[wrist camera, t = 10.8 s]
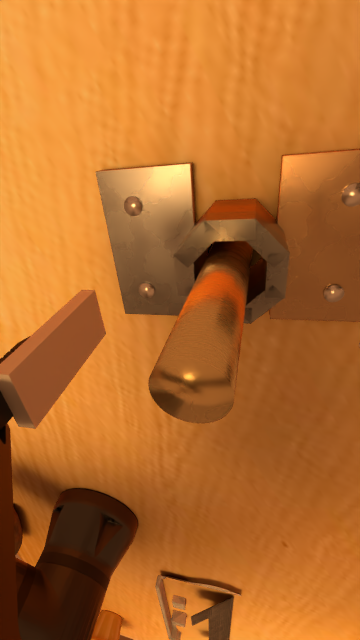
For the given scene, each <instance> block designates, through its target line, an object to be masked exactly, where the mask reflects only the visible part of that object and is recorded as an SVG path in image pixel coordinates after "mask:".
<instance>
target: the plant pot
mask: <svg viewBox="0 0 360 640" xmlns="http://www.w3.org/2000/svg"><path fill="white" fill-rule="evenodd" d="M121 622H122V618H121V617H120V616H119V615H117V614H115V613H113V612H110V611H106V610H103V611H102V612H101V613H100V615H99V618H98V620H97V622H96V625H95V628H94V632H93V635H92V638H91V640H119V635H120V629H121Z"/></svg>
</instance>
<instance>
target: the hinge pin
mask: <svg viewBox="0 0 360 640" xmlns="http://www.w3.org/2000/svg"><path fill="white" fill-rule="evenodd" d="M252 250H253V248H252V247H251V246H250V245H249V244H248V243H247V242H246V241H214V243H213V245H212V247H211V249H210V252H209V254H208V256H207V258H206V260H205V262H204V264H203V266H202V268H201V270H200V273H199V275H198V277H197V279H196V281H195V283H194V285H193V287H192V289H191V291H190V294H189V296H188V298H187V300H186V302H185V304H184V306H183V308H182V310H181V312H180V314H179V317H178V319H177V321H176V323H175V325H174V327H173V329H172V331H171V333H170V335H169V338H168V340H167V342H166V344H165V346H164V348H163V350H162V352H161V354H160V356H159V359H158V361H157V363H156V365H155V367H154V369H153V371H152V373H151V375H150V378H149V390H150V393H151V396H152V398H153V399H154V401H155V402H156V403H157V405H158V406H159V407H160V408H161V409H163V410H164V411H165V412H167V413H168V414H170V415H172V416H173V417H176V418H178V419H180V420H183V421H187V422H192V423H209V422H214V421H217V420H219V419H221V418H223V417H224V416H226V415H227V414H228V413H229V411H230V410H231V408H232V406H233V403H234V395H235V387H236V379H237V371H238V362H239V354H240V346H241V338H242V330H243V322H244V314H245V306H246V298H247V290H248V282H249V274H250V266H251V258H252Z"/></svg>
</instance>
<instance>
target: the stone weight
mask: <svg viewBox="0 0 360 640" xmlns="http://www.w3.org/2000/svg"><path fill="white" fill-rule="evenodd" d="M13 513H14V537H15V555H16V554H17V552H18V551H19V549H20V547H21V544H22V528H21V523H20V520H19V517H18V514H17V512H16V511H15V509H14V508H13Z"/></svg>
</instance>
